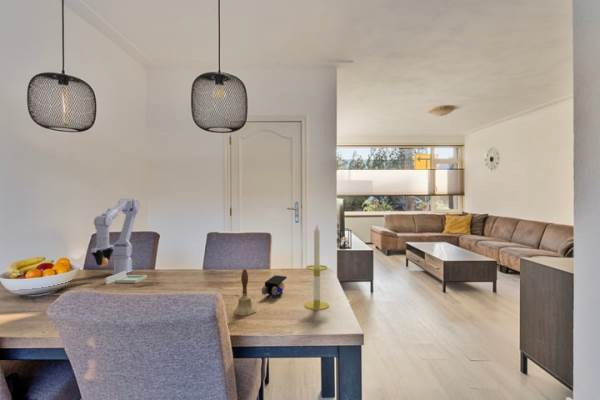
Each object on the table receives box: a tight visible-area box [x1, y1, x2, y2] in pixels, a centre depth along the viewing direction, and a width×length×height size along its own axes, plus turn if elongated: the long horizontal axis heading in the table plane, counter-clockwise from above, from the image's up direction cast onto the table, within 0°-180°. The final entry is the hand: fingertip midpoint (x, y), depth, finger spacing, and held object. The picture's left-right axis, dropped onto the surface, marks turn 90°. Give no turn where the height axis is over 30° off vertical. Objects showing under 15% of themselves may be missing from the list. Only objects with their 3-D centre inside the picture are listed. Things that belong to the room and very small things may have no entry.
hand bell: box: [233, 268, 257, 317], centre depth 123 cm, size 8×8×16 cm
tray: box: [115, 274, 148, 284], centre depth 171 cm, size 11×11×1 cm
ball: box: [98, 257, 109, 268], centre depth 172 cm, size 5×5×5 cm
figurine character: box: [261, 275, 287, 300], centre depth 144 cm, size 7×8×15 cm
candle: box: [304, 225, 330, 311], centre depth 130 cm, size 10×10×32 cm
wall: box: [104, 271, 127, 285], centre depth 171 cm, size 16×1×3 cm, turn 176°
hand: (103, 263), depth 172 cm, fingers closed on ball, 5 cm apart
